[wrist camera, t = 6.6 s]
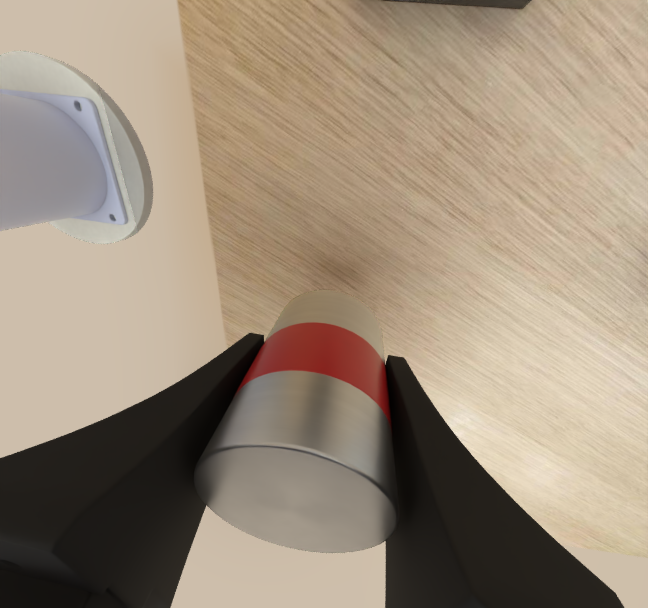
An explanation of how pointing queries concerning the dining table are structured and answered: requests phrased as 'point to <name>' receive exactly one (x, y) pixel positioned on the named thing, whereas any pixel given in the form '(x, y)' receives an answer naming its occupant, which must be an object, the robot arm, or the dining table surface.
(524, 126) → the dining table surface
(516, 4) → the square coaster
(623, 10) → the dining table surface
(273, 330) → the can
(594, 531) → the dining table surface
